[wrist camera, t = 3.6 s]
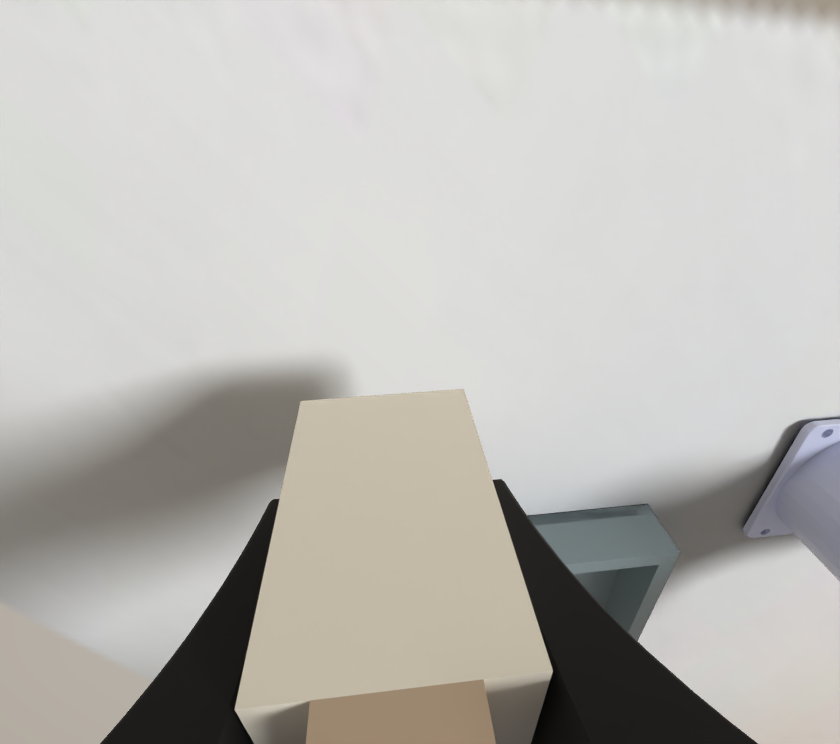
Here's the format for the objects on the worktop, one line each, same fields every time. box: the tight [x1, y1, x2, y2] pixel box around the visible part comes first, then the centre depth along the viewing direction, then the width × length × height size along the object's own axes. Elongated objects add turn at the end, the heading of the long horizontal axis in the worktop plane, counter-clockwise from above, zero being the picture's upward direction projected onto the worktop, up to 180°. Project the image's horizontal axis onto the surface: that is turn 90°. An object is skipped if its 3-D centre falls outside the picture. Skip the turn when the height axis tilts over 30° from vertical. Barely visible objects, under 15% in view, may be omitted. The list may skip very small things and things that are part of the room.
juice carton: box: [235, 389, 553, 744], centre depth 10 cm, size 4×4×8 cm
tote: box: [528, 504, 681, 641], centre depth 26 cm, size 14×20×3 cm
